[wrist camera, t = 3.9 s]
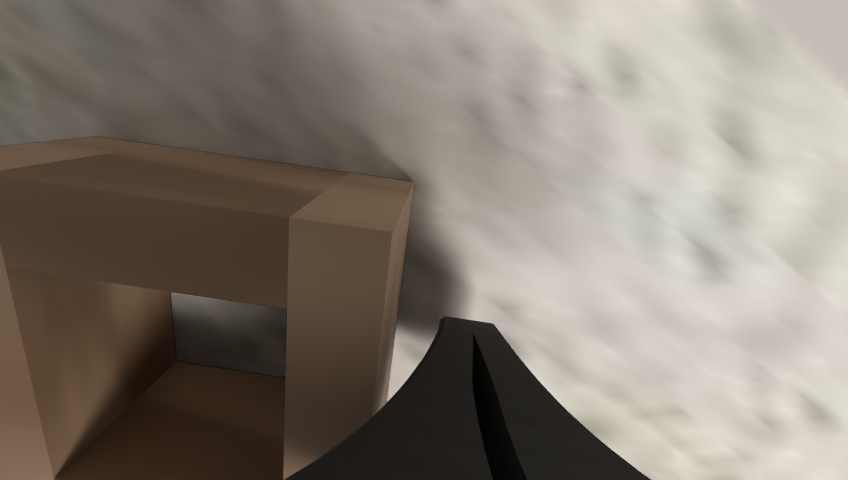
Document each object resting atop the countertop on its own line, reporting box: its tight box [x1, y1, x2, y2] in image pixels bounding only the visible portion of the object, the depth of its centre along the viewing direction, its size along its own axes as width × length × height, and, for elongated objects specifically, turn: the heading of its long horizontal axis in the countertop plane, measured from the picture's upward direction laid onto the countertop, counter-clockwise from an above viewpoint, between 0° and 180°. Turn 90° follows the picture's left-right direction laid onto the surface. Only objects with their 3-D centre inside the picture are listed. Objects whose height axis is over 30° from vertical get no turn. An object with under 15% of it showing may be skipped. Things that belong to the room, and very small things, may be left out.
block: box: [0, 136, 414, 480], centre depth 10 cm, size 8×8×4 cm
